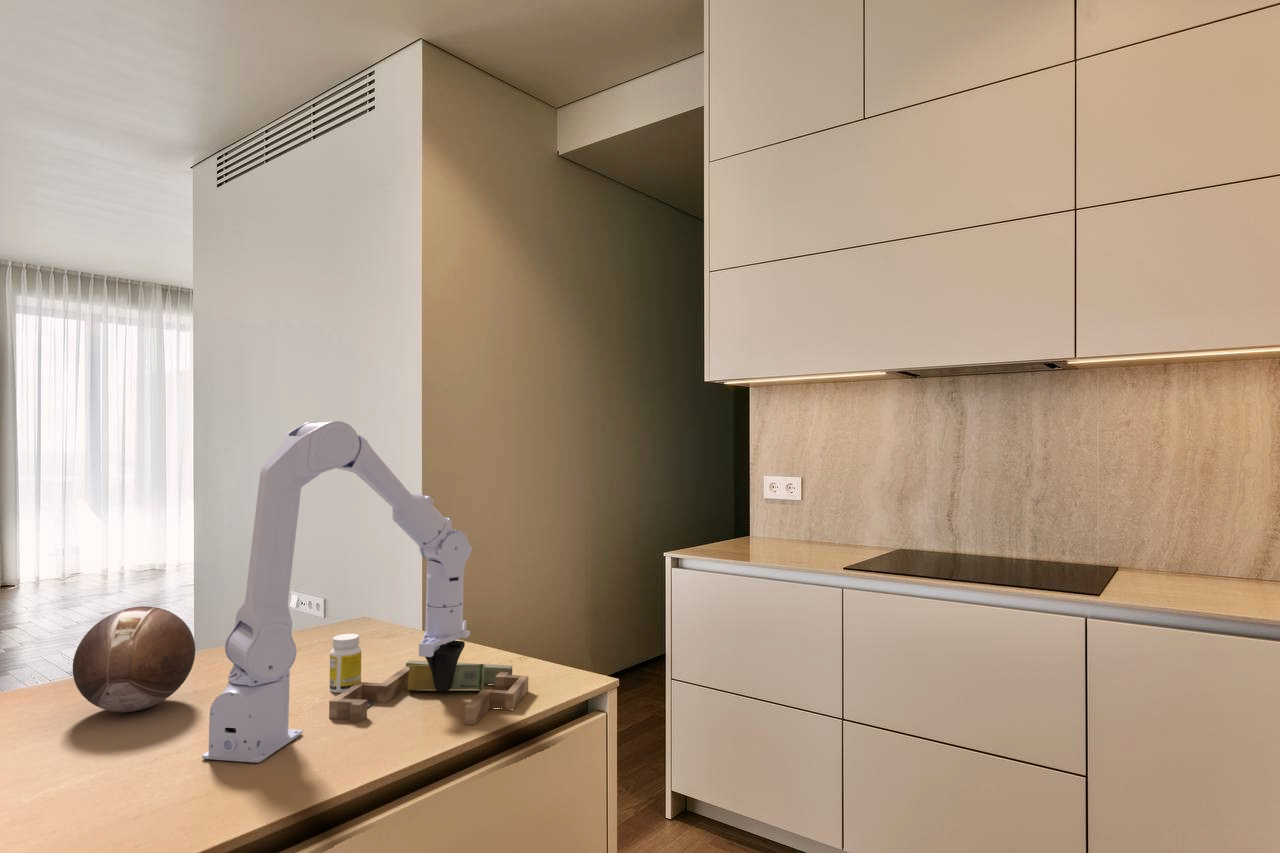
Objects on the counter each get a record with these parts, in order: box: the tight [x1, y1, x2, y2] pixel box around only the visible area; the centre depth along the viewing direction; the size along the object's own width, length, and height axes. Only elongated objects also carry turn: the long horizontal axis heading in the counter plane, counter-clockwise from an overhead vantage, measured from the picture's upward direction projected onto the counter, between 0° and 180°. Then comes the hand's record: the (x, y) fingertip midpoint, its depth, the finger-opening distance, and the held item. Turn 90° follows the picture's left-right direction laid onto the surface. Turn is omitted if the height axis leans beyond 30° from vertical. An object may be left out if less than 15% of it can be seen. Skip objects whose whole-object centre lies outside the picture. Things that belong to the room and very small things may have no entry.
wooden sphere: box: [72, 606, 196, 713], centre depth 108 cm, size 15×15×15 cm
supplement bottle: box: [329, 633, 362, 694], centre depth 118 cm, size 5×5×8 cm
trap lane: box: [328, 659, 529, 726], centre depth 112 cm, size 20×25×3 cm
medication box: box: [406, 663, 486, 691], centre depth 117 cm, size 12×3×4 cm, turn 93°
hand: (443, 689), depth 115 cm, fingers closed
